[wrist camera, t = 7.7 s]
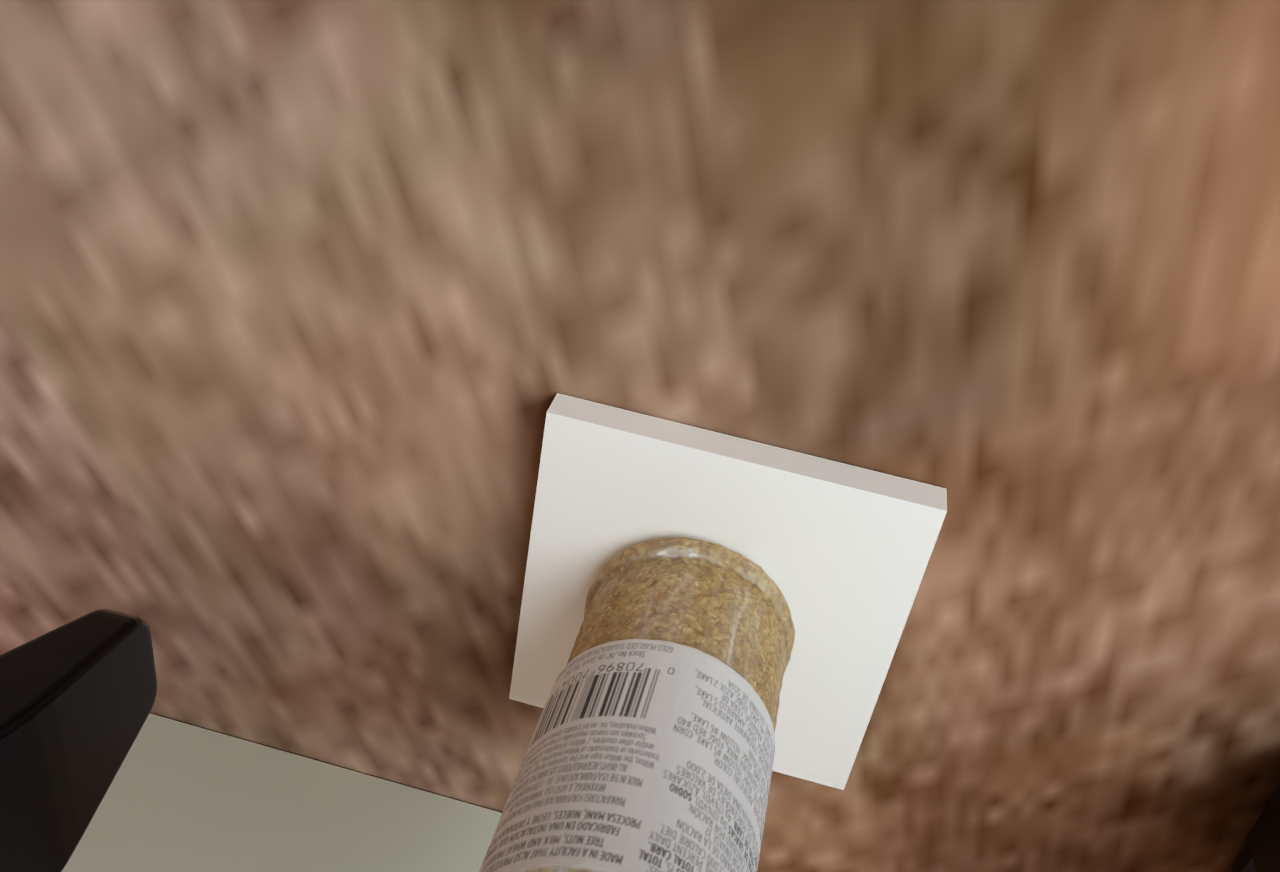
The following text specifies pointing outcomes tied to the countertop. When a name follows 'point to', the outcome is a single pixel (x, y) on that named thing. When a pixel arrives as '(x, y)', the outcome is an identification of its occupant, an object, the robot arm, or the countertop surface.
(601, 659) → the seasoning jar
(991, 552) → the countertop surface
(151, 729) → the pale green board
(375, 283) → the countertop surface
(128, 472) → the countertop surface
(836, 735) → the tile pad
